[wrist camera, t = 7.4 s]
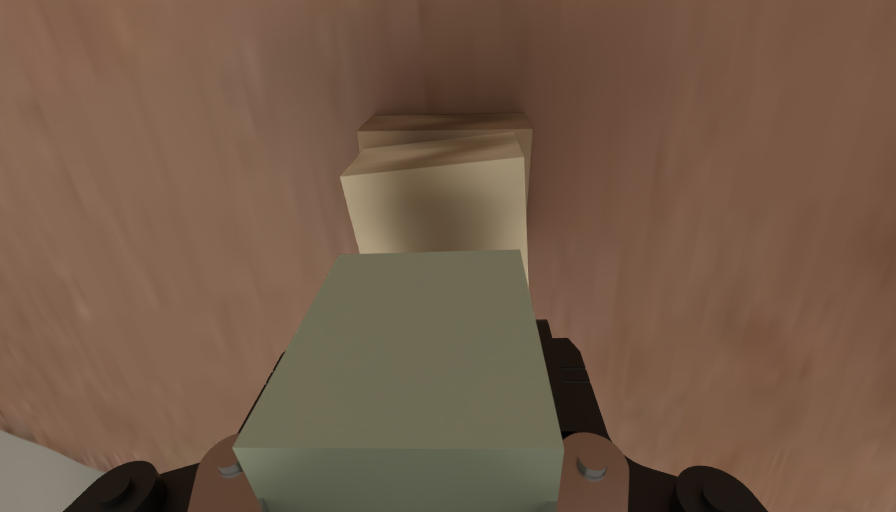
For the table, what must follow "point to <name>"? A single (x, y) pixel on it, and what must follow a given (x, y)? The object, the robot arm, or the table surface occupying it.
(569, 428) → the robot arm
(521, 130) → the tower base
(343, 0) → the table surface
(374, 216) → the tower top
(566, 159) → the table surface
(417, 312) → the sage block
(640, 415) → the table surface
